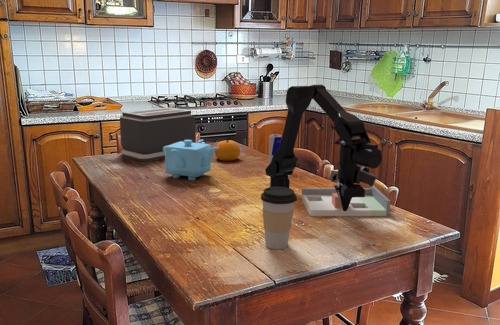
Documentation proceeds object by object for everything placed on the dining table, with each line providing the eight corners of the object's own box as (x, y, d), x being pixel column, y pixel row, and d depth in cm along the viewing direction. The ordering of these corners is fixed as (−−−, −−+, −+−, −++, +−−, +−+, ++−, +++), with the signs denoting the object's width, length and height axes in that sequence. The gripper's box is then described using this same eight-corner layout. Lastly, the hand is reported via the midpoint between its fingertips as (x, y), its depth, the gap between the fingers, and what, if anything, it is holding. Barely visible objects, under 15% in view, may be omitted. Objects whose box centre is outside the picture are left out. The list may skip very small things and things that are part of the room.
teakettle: (160, 172, 196) (159, 137, 192) (204, 168, 203) (204, 134, 199) (172, 185, 179) (171, 146, 175) (219, 180, 186) (219, 143, 183)
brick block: (334, 207, 151) (335, 197, 150) (331, 203, 155) (332, 193, 154) (348, 207, 151) (349, 197, 150) (345, 203, 155) (345, 193, 155)
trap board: (310, 216, 149) (311, 200, 147) (301, 199, 165) (302, 185, 164) (389, 216, 150) (390, 201, 149) (372, 199, 167) (373, 185, 165)
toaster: (200, 150, 238) (200, 110, 233) (144, 162, 212) (142, 116, 207) (174, 145, 250) (173, 106, 245) (118, 155, 224) (116, 112, 219)
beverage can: (279, 171, 202) (280, 136, 198) (267, 170, 203) (268, 135, 199) (281, 168, 206) (282, 134, 203) (269, 167, 207) (270, 133, 204)
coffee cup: (257, 238, 131) (258, 185, 127) (291, 237, 131) (293, 185, 128) (261, 252, 121) (262, 196, 118) (297, 252, 122) (300, 196, 119)
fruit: (239, 162, 215) (239, 141, 213) (213, 162, 215) (213, 140, 213) (240, 156, 226) (240, 136, 224) (215, 156, 227) (215, 135, 224)
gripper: (385, 169, 134) (380, 221, 137) (365, 154, 152) (361, 201, 155) (346, 169, 133) (342, 221, 137) (331, 154, 151) (328, 201, 155)
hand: (344, 210), depth 146 cm, fingers closed
